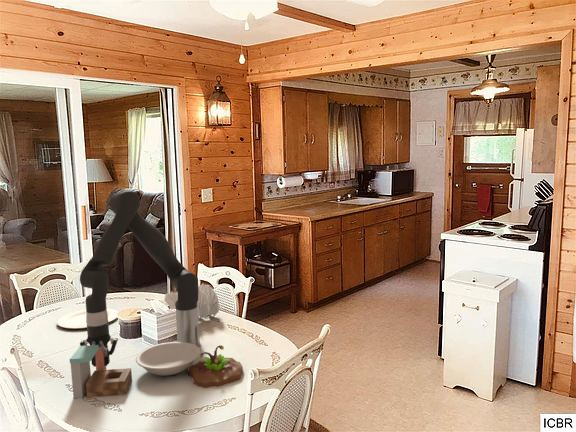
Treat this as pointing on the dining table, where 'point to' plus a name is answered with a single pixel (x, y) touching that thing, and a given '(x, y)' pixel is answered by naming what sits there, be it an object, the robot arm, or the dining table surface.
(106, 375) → the socket
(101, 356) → the peg
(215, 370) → the plant
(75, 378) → the teal-topped grey pillar
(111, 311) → the plate
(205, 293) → the grey rounded lump
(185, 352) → the soup bowl
